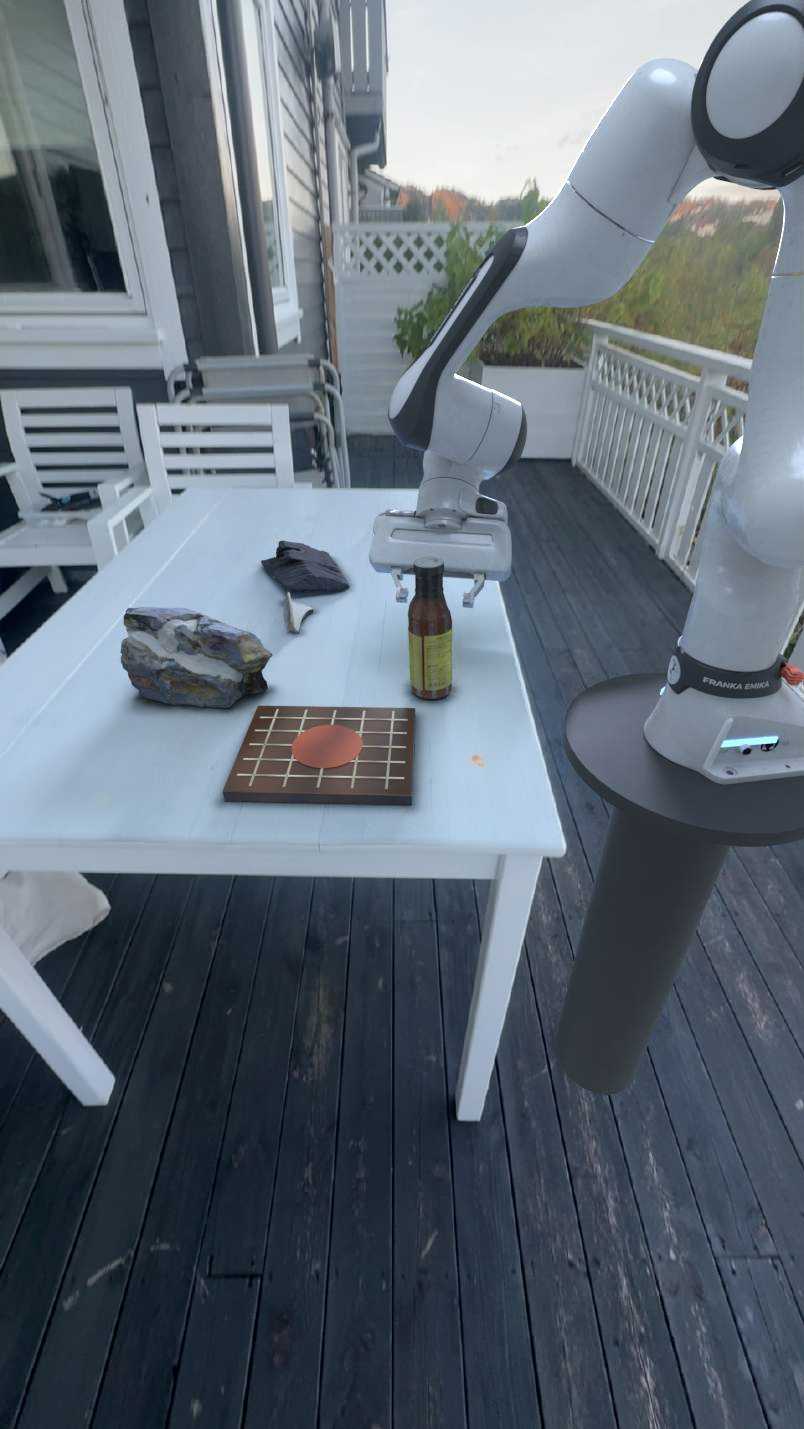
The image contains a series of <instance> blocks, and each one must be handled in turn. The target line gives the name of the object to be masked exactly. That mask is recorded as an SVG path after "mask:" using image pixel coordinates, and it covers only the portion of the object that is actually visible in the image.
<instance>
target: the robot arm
mask: <svg viewBox="0 0 804 1429" xmlns="http://www.w3.org/2000/svg"><path fill="white" fill-rule="evenodd" d="M711 178H713V179H714V180H717V181H721V182H726V183H729V184H730V183H731V184H735V185H738V186H741V187H745V188H748V189H753V190H757V191H758V190H759V191H775V190H777V191H778V193H779V195H780V196H781V199H782V203H783V224H782V231H781V236H780V242H779V246H778V250H777V254H776V259H775V263H774V267H773V271H772V275H774V276H771V279H770V282H769V287H768V291H767V297H766V299H765V305H764V310H763V312H762V313H763V314H762V318H761V322H760V326H759V331H758V335H757V339H756V344H755V348H754V353H753V356H752V362H751V365H750V366H751V367H750V369H749V385H748V394H747V404H746V412H745V420H744V426H743V433H742V435H741V436H740V437H739V438H738V439H736V441H734V442H733V443H732V444H731V445H730V447H729V448H728V449H727V450H726V451H725V453H724V454H723V456H722V459H721V461H720V463H719V466H718V469H717V472H716V477H715V481H714V485H713V486H714V487H713V491H712V495H711V500H710V505H709V509H708V514H707V520H706V525H705V531H704V535H703V540H702V545H701V546H702V547H701V552H700V558H699V566H698V572H697V577H696V582H695V586H694V590H693V594H692V596H691V597H692V598H691V601H690V604H689V608H688V612H687V616H686V618H685V619H686V620H685V623H684V627H683V630H682V633H681V636H679V637H678V639H677V640H676V642H675V646H674V650H673V652H672V656H671V658H670V661H669V665H668V669H667V673H668V675H667V683H666V686H665V687H664V688H663V689H661V692H660V695H661V697H660V699H659V701H658V703H657V705H656V707H655V709H654V710H653V712H652V714H651V715H650V717H649V718H648V719H647V721H646V722H645V724H644V728H643V731H644V736H645V738H646V740H647V741H648V743H649V744H650V745H651V746H652V747H653V748H654V749H655V750H656V751H657V752H658V753H659V754H661V755H662V756H664V757H665V758H667V759H669V760H671V761H673V762H675V763H677V764H679V765H682V766H684V767H687V768H690V769H693V770H695V771H697V772H699V773H701V774H702V775H704V776H705V777H707V778H708V779H710V780H712V781H714V782H716V783H718V784H723V785H726V784H735V783H744V782H753V781H761V780H770V779H779V778H787V777H796V776H804V701H803V699H801V697H800V696H798V695H797V693H795V692H794V690H792V689H791V688H790V687H789V686H792V687H795V686H799V685H800V684H801V683H804V672H803V671H802V670H801V669H800V668H799V667H798V665H795V664H789V663H788V662H789V661H788V659H787V657H785V655H783V654H781V653H780V652H781V649H782V647H783V646H782V645H783V644H784V641H785V638H786V636H787V634H788V631H789V628H790V625H791V622H792V620H793V617H794V614H795V612H796V609H797V607H798V604H799V600H800V583H801V582H800V581H801V574H802V569H803V568H804V274H800V273H804V0H749V1H747V2H746V3H745V4H744V5H742V6H741V7H740V8H738V9H737V10H736V12H734V14H732V15H731V16H730V17H729V18H728V19H727V20H726V22H725V23H724V24H723V26H722V27H721V28H720V30H719V31H718V32H717V33H716V35H715V37H714V38H713V39H712V41H711V43H710V44H709V46H708V48H707V50H706V52H705V54H704V55H703V58H702V60H701V63H700V65H699V67H698V69H697V68H695V67H694V66H693V65H691V64H689V63H688V62H685V61H683V60H680V59H675V58H670V57H669V58H668V57H664V58H655V59H651V60H650V61H648V62H645V63H643V64H642V65H641V66H639V67H638V68H637V69H636V70H635V71H634V72H633V73H632V74H631V75H630V77H629V78H628V79H627V81H626V82H625V84H624V85H623V86H622V87H621V89H620V90H619V92H618V93H617V95H615V97H614V99H613V100H612V102H611V103H610V105H609V106H608V107H607V109H606V111H605V112H604V114H602V116H601V118H600V120H599V122H598V123H597V125H596V126H595V127H594V129H593V131H592V133H591V134H590V136H588V139H587V141H586V143H585V144H584V146H583V148H582V150H581V151H580V153H579V154H578V156H577V158H576V159H575V162H574V164H573V165H572V168H571V169H570V171H569V173H568V175H567V177H566V179H565V181H564V182H563V185H562V186H561V188H560V189H559V191H558V193H556V195H555V197H554V198H553V199H552V200H551V202H550V203H549V204H548V206H546V207H545V209H544V210H543V211H542V212H540V213H539V215H537V216H536V217H535V218H533V219H532V220H531V221H530V222H528V223H527V224H525V225H523V226H518V227H512V228H509V229H508V230H507V231H505V232H504V234H502V236H500V238H499V239H498V240H497V241H496V243H494V245H493V246H492V247H491V249H490V250H489V251H488V252H487V254H486V255H485V256H484V258H483V260H482V261H481V262H480V264H479V265H478V266H477V268H476V269H475V271H474V272H473V274H472V275H471V277H470V278H469V280H468V281H467V283H466V284H465V285H464V287H463V288H462V290H461V291H460V294H458V295H457V296H458V297H457V298H456V299H455V301H454V303H453V304H452V306H451V307H450V308H449V310H448V311H447V313H446V315H445V316H444V318H442V320H441V322H440V324H439V325H438V327H437V328H436V330H435V331H434V333H433V334H432V336H431V337H430V339H429V340H428V341H427V343H426V345H425V346H424V347H423V349H422V350H421V352H420V353H419V354H418V355H417V357H416V358H415V359H413V361H412V362H411V363H410V365H409V366H408V367H407V369H405V371H404V373H403V374H402V375H401V377H400V379H399V380H398V381H397V383H396V385H395V387H394V389H393V391H392V393H391V397H390V401H389V405H388V409H387V418H388V421H389V424H390V427H391V429H392V431H393V433H394V435H395V436H396V438H397V439H398V441H399V443H400V444H401V446H403V447H406V448H409V449H410V448H411V449H413V450H417V451H421V452H423V458H422V468H423V478H422V480H421V481H420V484H419V487H418V494H417V500H416V509H415V510H408V509H405V510H395V509H386V510H385V511H383V512H381V513H379V514H378V515H376V516H375V518H374V522H373V527H372V533H373V538H372V541H371V544H370V549H369V554H368V560H369V563H370V565H371V567H372V568H373V570H374V571H375V572H376V573H379V574H390V575H391V577H392V580H393V583H394V585H395V587H396V592H395V601H396V603H401V604H407V603H408V602H409V599H408V598H409V594H410V591H409V588H408V587H405V586H404V587H403V586H402V584H401V581H403V580H404V575H407V576H408V575H409V576H415V574H414V571H413V563H414V561H415V560H416V559H419V558H422V557H437V558H439V559H442V560H443V561H444V572H443V578H451V579H461V580H462V579H464V580H473V587H472V588H471V589H470V591H463V598H462V608H465V609H466V608H468V609H474V606H475V599H476V598H477V596H478V595H479V594H480V592H481V591H482V590H483V589H484V587H485V583H486V582H485V581H492V582H505V581H507V580H508V579H509V577H511V575H512V561H513V560H512V559H513V558H512V556H513V544H512V533H511V529H510V526H508V524H509V523H508V522H509V513H508V509H507V505H506V504H505V503H504V502H502V501H499V500H497V499H494V498H490V497H488V496H486V495H483V494H481V493H480V485H481V483H482V482H483V481H490V480H491V479H493V478H496V477H497V476H499V475H502V474H503V473H505V472H506V471H508V470H510V469H511V468H512V467H514V466H516V464H517V463H518V461H520V459H521V457H522V455H523V452H524V450H525V446H526V442H527V437H528V422H527V420H528V419H527V415H526V411H525V409H524V406H523V405H522V403H521V402H518V401H517V400H515V399H513V397H512V398H511V397H509V396H507V395H505V394H503V393H500V392H499V391H497V390H494V389H491V388H489V387H485V386H484V385H481V384H479V383H476V382H475V381H472V380H469V379H467V378H464V377H462V376H460V375H458V374H457V373H458V372H459V370H460V369H461V367H463V364H464V363H465V361H467V359H468V358H469V356H470V355H471V353H472V352H473V350H474V349H475V347H477V345H478V344H479V342H480V340H482V338H483V336H484V335H485V334H486V333H487V331H488V329H489V328H490V327H491V326H492V325H493V323H494V322H496V321H497V320H498V319H499V318H501V317H502V316H505V315H506V314H508V313H511V312H514V311H517V310H521V309H522V310H523V309H528V308H529V309H530V308H559V309H560V308H562V309H576V308H583V307H584V308H585V307H588V306H591V305H595V304H598V303H600V302H604V301H605V300H608V298H610V297H612V296H614V295H615V294H618V292H619V291H620V290H622V288H623V287H624V286H625V285H626V284H627V283H628V281H629V280H630V279H631V278H632V277H633V275H635V273H636V271H637V270H638V269H639V267H640V266H641V265H642V263H643V261H644V260H645V258H646V257H647V255H648V254H649V252H650V250H651V249H652V248H653V246H654V244H655V243H656V241H657V239H658V238H659V236H660V235H661V233H662V232H663V230H664V229H665V227H666V226H667V224H668V222H669V220H670V219H671V217H672V216H673V214H674V213H675V211H676V210H677V209H678V207H679V206H680V205H681V203H682V202H683V200H684V199H685V198H686V197H687V196H688V194H689V193H690V192H692V190H694V189H695V188H696V187H697V186H698V185H699V184H701V183H703V182H704V181H706V180H708V179H711ZM797 273H799V274H797ZM776 274H777V275H776ZM778 274H787V275H778ZM782 678H783V679H784V680H785V681H786V683H787V684H788V685H787V684H786V683H785V682H784V681H783V679H782Z"/></svg>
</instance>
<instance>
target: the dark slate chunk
mask: <svg viewBox="0 0 804 1429" xmlns="http://www.w3.org/2000/svg"><path fill="white" fill-rule="evenodd" d="M260 563H261V565H262V566H263V567H264V569H265V570H266V571H267V572H268V574H269V575H270V576H271V577H273V578H274V580H276V581H277V582H278V583H279V584H280V585H281V586H282V587H283V588H284V589H285V590H287V592H289V593H290V594H297V593H301V594H302V593H303V594H304V593H311V592H312V593H313V592H336V591H337V592H338V591H343V590H347V589H349V588H351V586H350V583H349V582H348V580H347V578H346V576H345V575H344V574H343V572H342V570H341V569H340V568H339V566H338V564H337V563H336V562H335V560H334V559H333V558H332V556H331V555H330V553H329V552H327V551H325V550H319V549H316V548H314V547H312V546H310V545H307V544H305V543H303V542H293V541H288V540H279V541H278V546H277V547H276V550H275V556H272V557H270V558H266V559H262V560H260Z"/></svg>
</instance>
